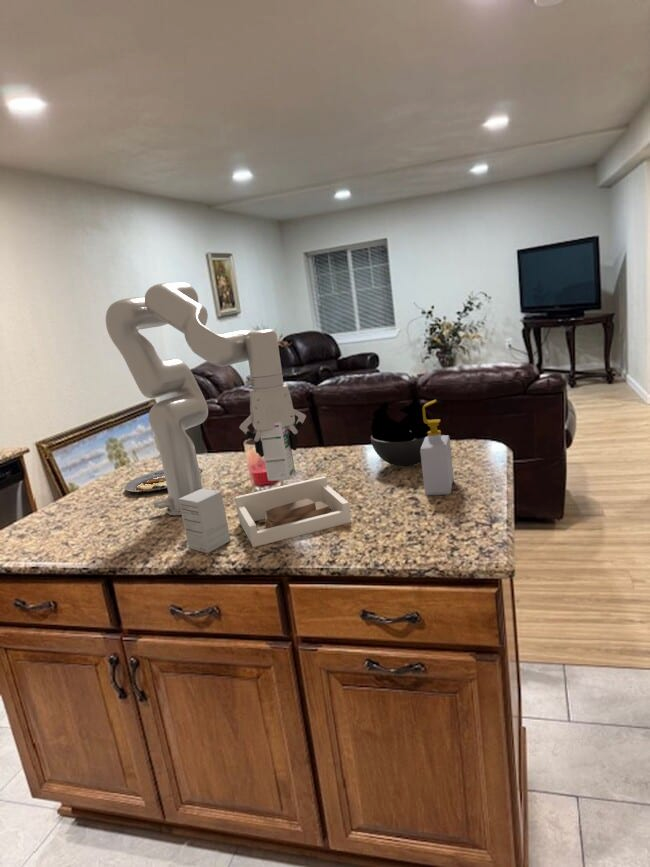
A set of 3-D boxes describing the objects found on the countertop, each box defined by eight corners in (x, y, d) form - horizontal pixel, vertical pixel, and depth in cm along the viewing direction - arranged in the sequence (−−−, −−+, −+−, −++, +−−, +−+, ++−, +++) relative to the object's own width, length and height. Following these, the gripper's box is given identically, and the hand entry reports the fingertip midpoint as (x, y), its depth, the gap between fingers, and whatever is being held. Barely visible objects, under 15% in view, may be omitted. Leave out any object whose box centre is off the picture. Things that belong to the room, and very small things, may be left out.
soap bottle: (451, 495, 152) (442, 404, 146) (424, 496, 153) (415, 407, 148) (453, 479, 163) (445, 394, 158) (429, 480, 165) (420, 397, 159)
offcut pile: (266, 542, 139) (261, 519, 138) (257, 535, 144) (253, 513, 143) (334, 520, 146) (331, 498, 145) (324, 514, 151) (321, 493, 150)
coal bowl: (452, 466, 174) (446, 403, 170) (388, 480, 169) (380, 416, 165) (423, 451, 193) (417, 394, 189) (365, 464, 188) (357, 406, 184)
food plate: (209, 467, 211) (207, 458, 210) (194, 489, 188) (191, 479, 187) (140, 479, 212) (138, 469, 211) (117, 502, 189) (114, 491, 189)
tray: (253, 547, 137) (248, 518, 135) (239, 522, 154) (235, 496, 152) (351, 522, 143) (347, 494, 142) (328, 501, 160) (324, 476, 158)
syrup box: (290, 479, 146) (281, 421, 143) (266, 481, 147) (257, 423, 144) (295, 472, 151) (287, 416, 148) (273, 474, 153) (264, 419, 150)
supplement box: (211, 536, 147) (202, 487, 144) (231, 541, 142) (222, 490, 139) (187, 548, 141) (177, 498, 139) (207, 553, 137) (197, 501, 134)
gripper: (234, 389, 138) (245, 462, 142) (306, 378, 143) (315, 448, 147) (229, 386, 145) (240, 455, 149) (298, 374, 150) (306, 442, 154)
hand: (277, 451), depth 148 cm, fingers closed on syrup box, 7 cm apart
